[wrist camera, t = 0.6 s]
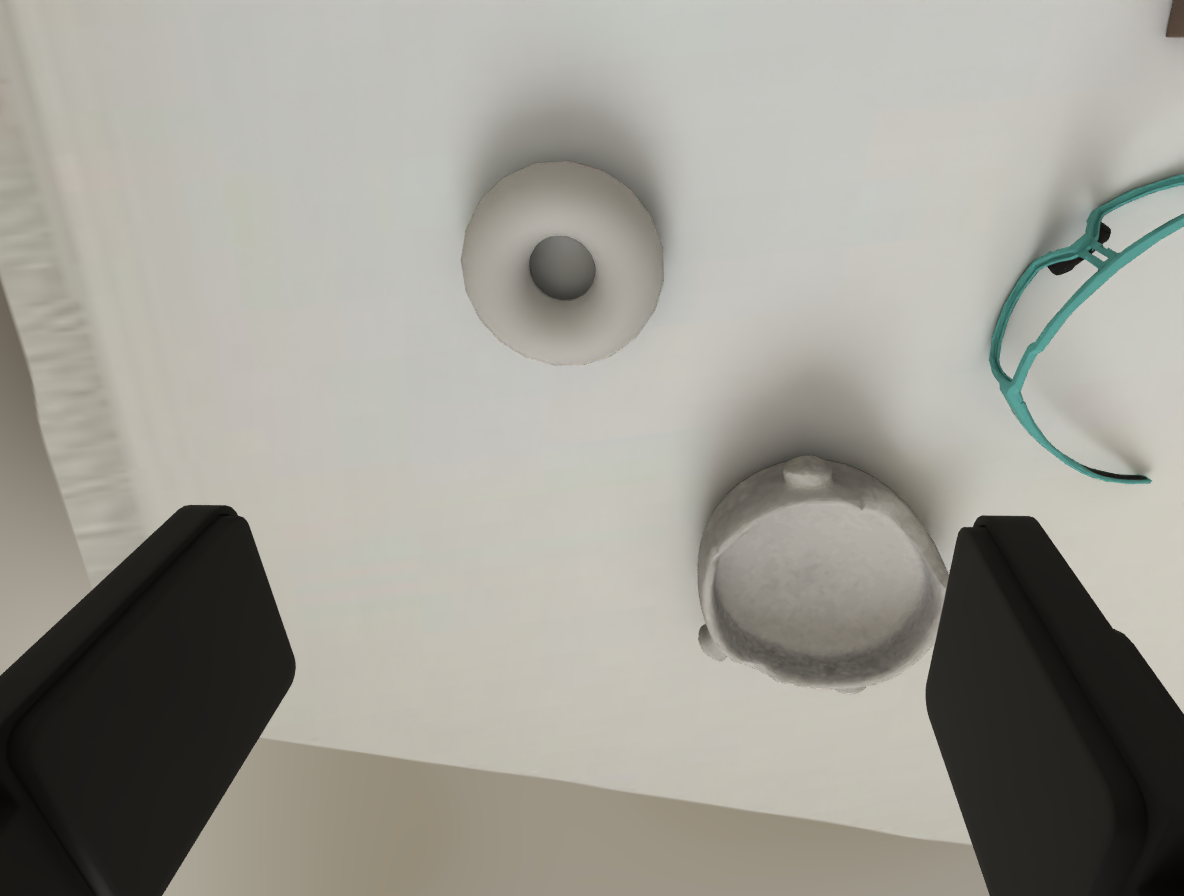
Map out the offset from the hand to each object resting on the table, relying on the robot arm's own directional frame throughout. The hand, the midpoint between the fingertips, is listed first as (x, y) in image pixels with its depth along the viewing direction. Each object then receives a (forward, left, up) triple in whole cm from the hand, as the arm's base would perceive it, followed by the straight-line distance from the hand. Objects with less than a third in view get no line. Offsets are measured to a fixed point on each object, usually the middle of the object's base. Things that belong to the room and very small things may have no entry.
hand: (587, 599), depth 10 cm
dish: (+22, +7, -30) cm, 38 cm away
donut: (+3, -5, -30) cm, 31 cm away
